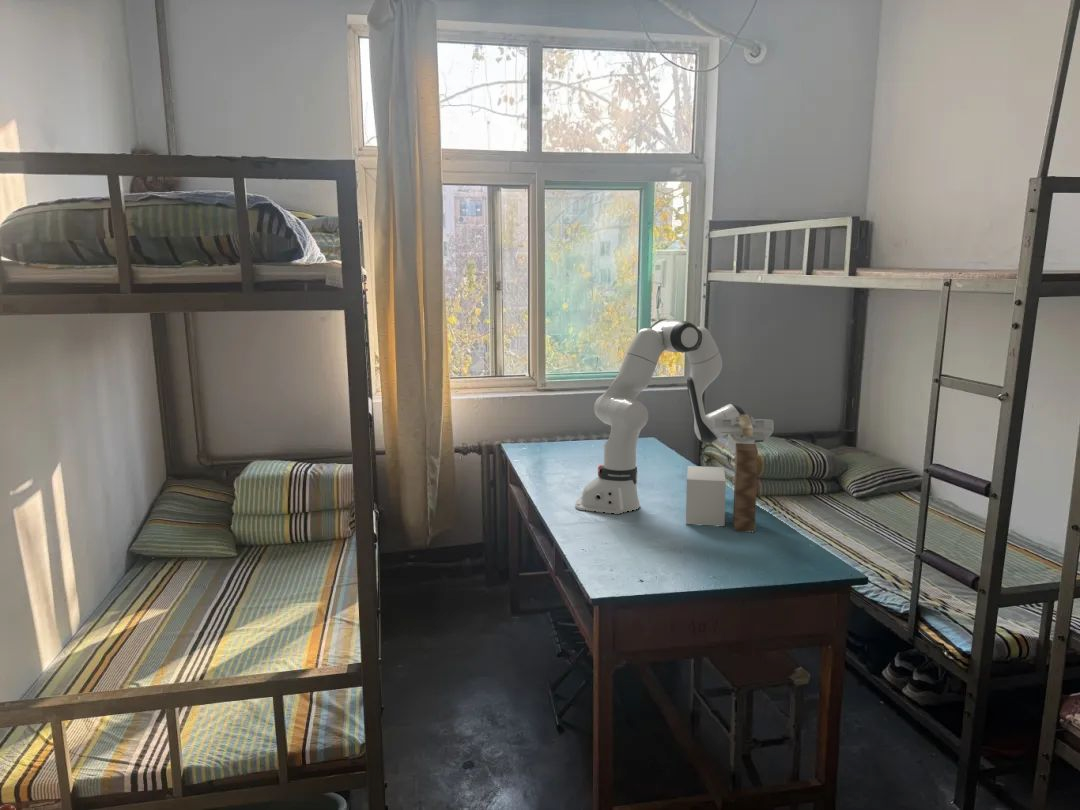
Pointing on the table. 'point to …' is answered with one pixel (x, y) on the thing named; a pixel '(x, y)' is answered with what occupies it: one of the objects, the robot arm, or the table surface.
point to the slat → (745, 425)
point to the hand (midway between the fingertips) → (743, 418)
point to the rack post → (745, 487)
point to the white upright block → (705, 495)
